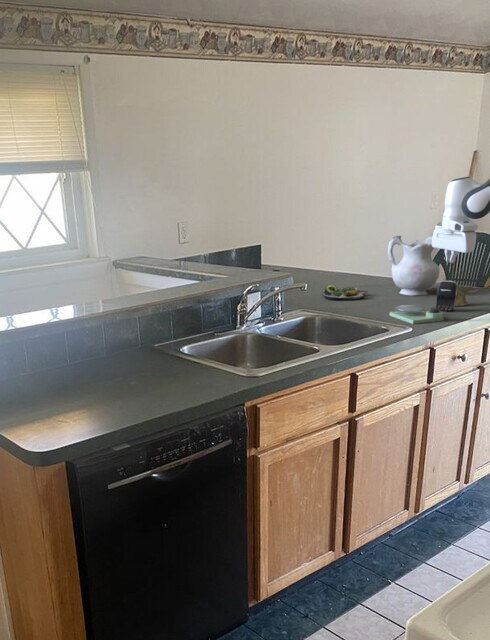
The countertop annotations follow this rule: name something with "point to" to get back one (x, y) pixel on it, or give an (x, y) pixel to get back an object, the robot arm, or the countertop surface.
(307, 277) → the countertop surface
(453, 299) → the battery charger
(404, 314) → the scale
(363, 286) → the countertop surface
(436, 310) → the tare button
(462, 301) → the rock
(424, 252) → the ceramic pitcher
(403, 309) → the scale pan
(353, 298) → the salad plate
